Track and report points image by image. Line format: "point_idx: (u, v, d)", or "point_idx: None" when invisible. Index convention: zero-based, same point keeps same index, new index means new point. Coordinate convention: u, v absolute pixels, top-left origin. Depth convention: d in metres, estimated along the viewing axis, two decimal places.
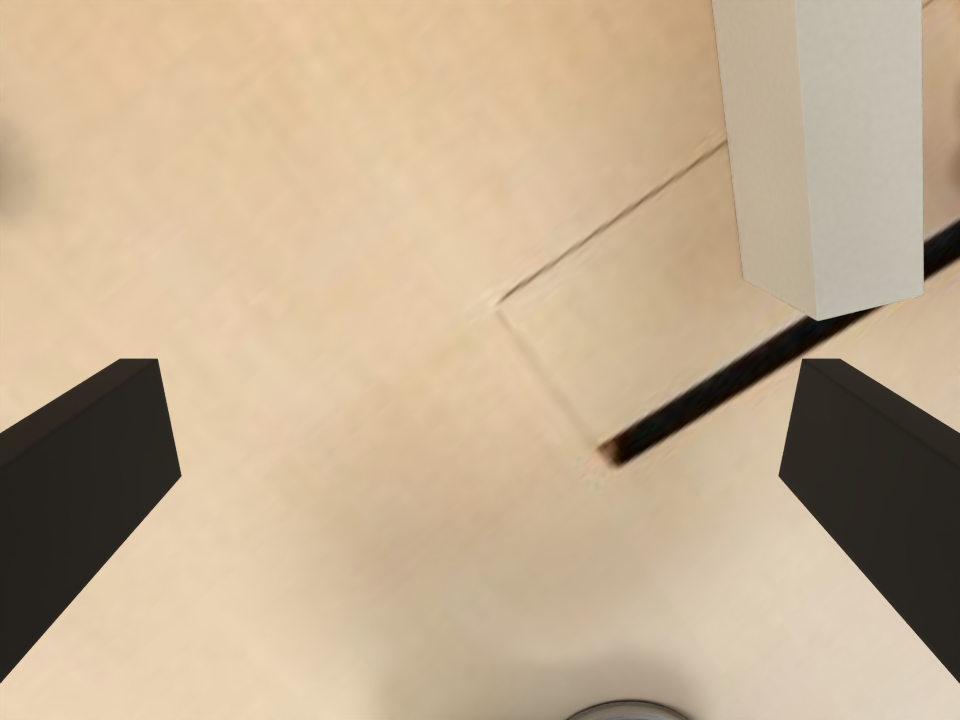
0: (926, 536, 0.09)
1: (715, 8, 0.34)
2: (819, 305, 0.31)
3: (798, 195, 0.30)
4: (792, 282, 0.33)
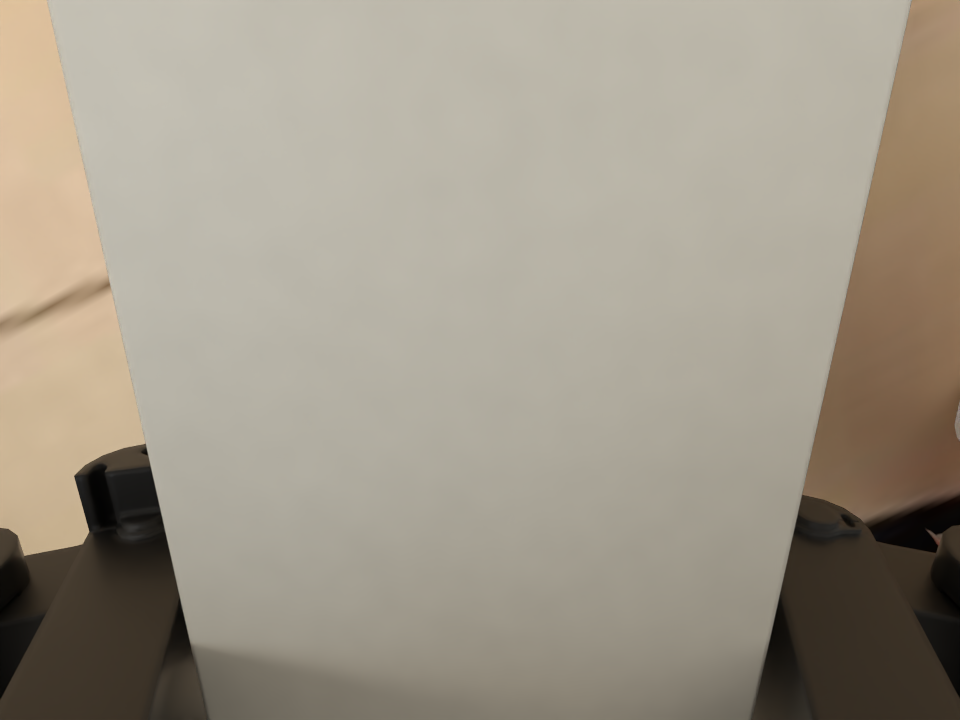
0: None
1: None
2: None
3: None
4: None
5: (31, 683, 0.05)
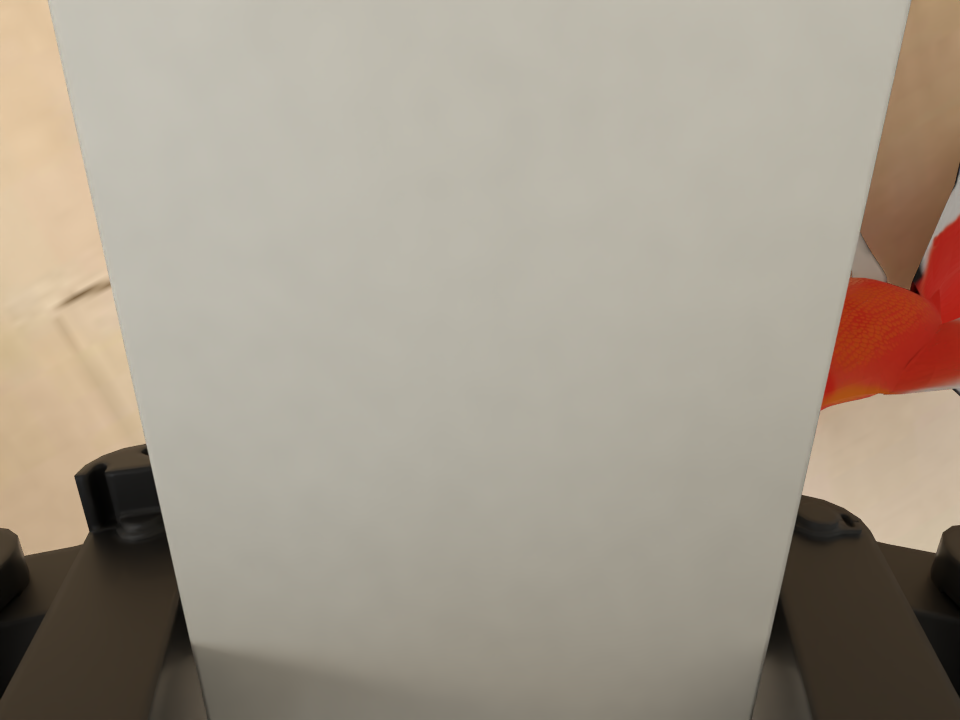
0: None
1: None
2: None
3: None
4: None
5: (31, 683, 0.05)
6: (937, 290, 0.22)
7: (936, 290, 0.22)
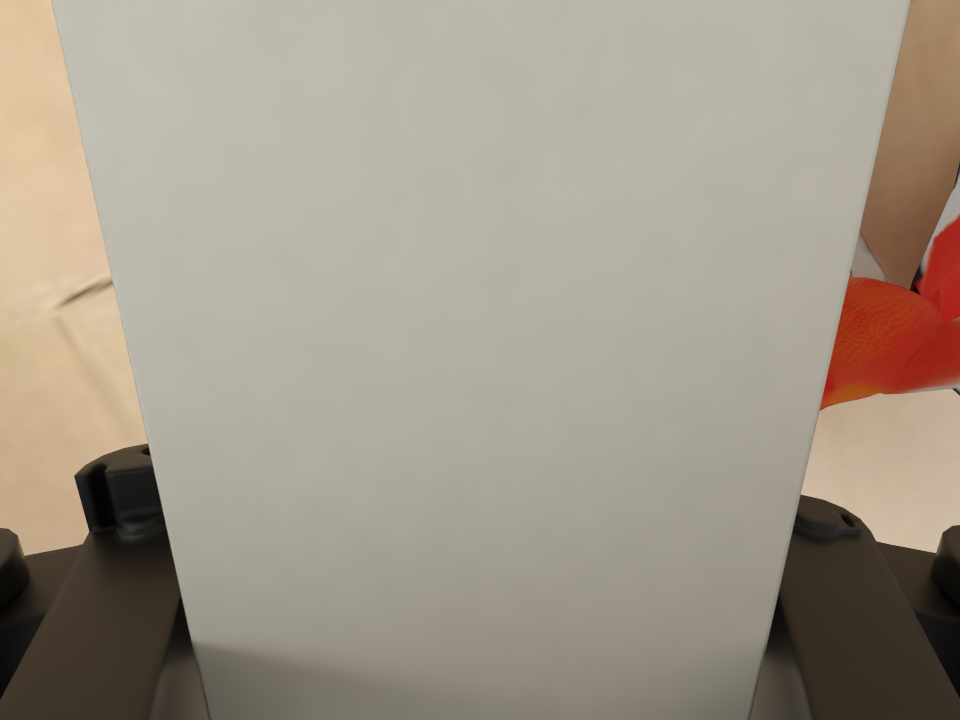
0: None
1: None
2: None
3: None
4: None
5: (31, 683, 0.05)
6: (937, 290, 0.22)
7: (936, 290, 0.22)
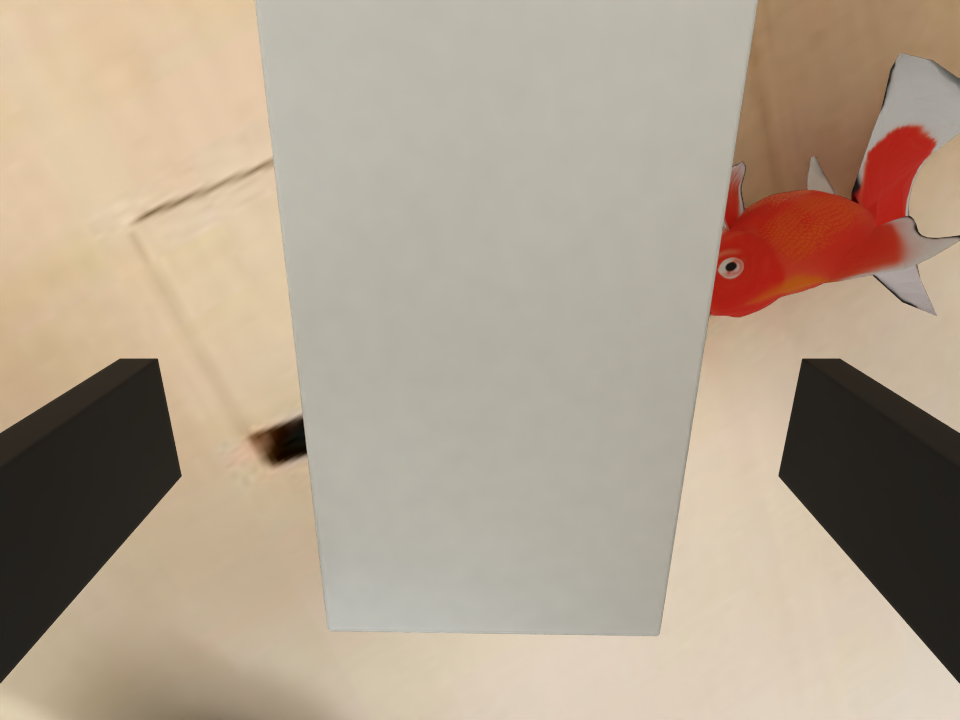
0: (926, 536, 0.09)
1: None
2: (333, 591, 0.09)
3: None
4: None
5: None
6: (875, 201, 0.26)
7: (874, 201, 0.26)
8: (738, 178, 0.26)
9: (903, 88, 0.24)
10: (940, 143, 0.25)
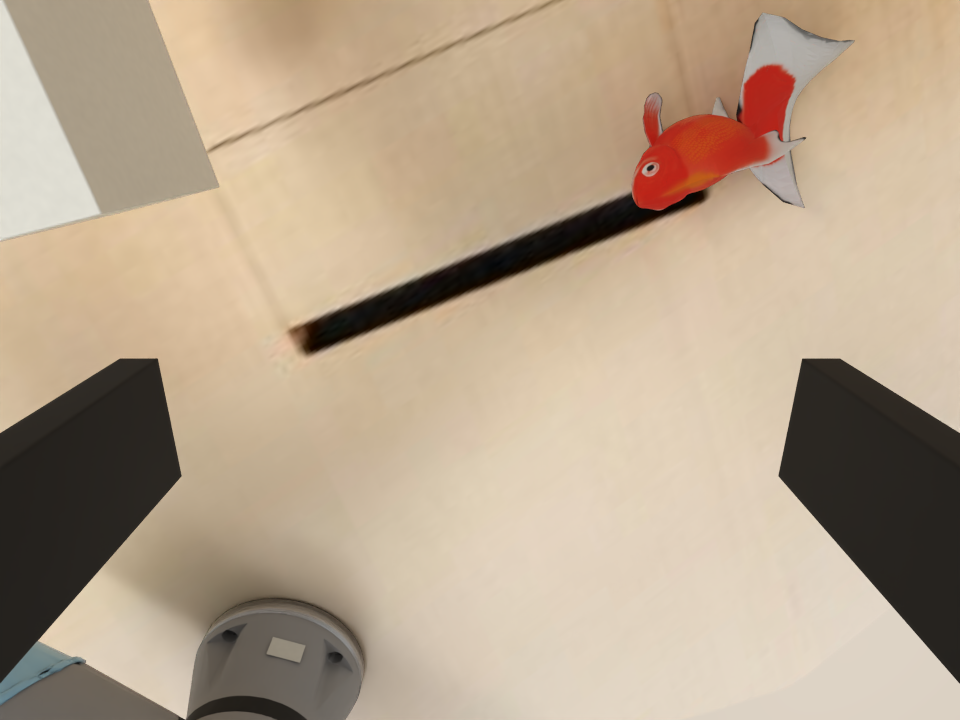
0: (926, 537, 0.09)
1: None
2: None
3: None
4: None
5: None
6: (755, 123, 0.36)
7: (754, 123, 0.36)
8: (657, 108, 0.36)
9: (765, 37, 0.34)
10: (799, 79, 0.35)
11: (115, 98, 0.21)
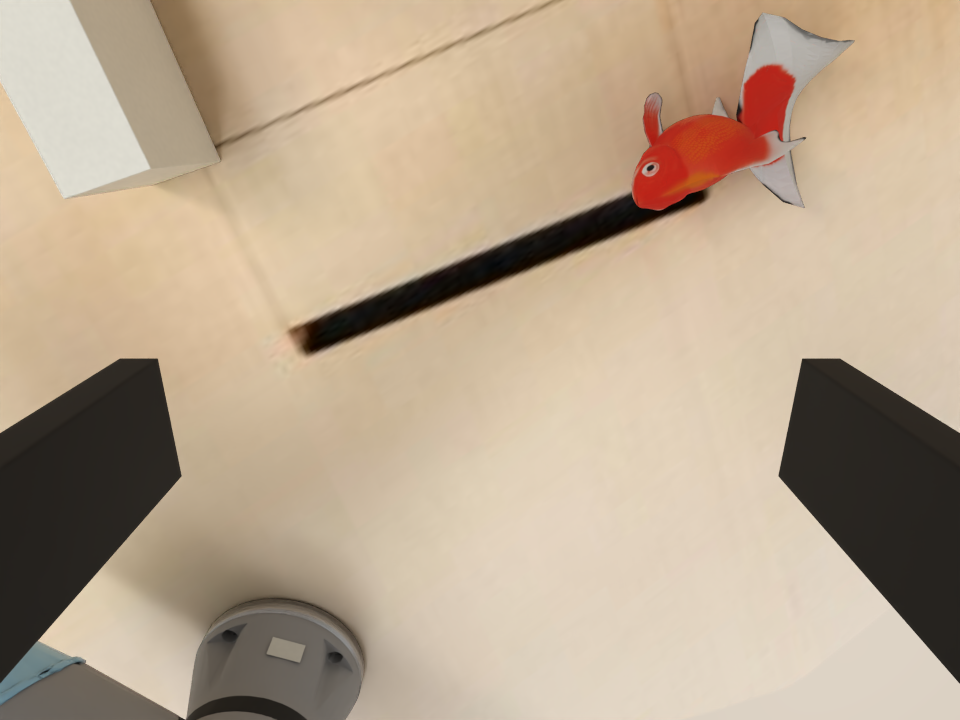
0: (926, 537, 0.09)
1: None
2: (58, 183, 0.33)
3: None
4: None
5: None
6: (755, 123, 0.36)
7: (754, 123, 0.36)
8: (657, 108, 0.36)
9: (765, 37, 0.34)
10: (799, 79, 0.35)
11: (153, 102, 0.34)
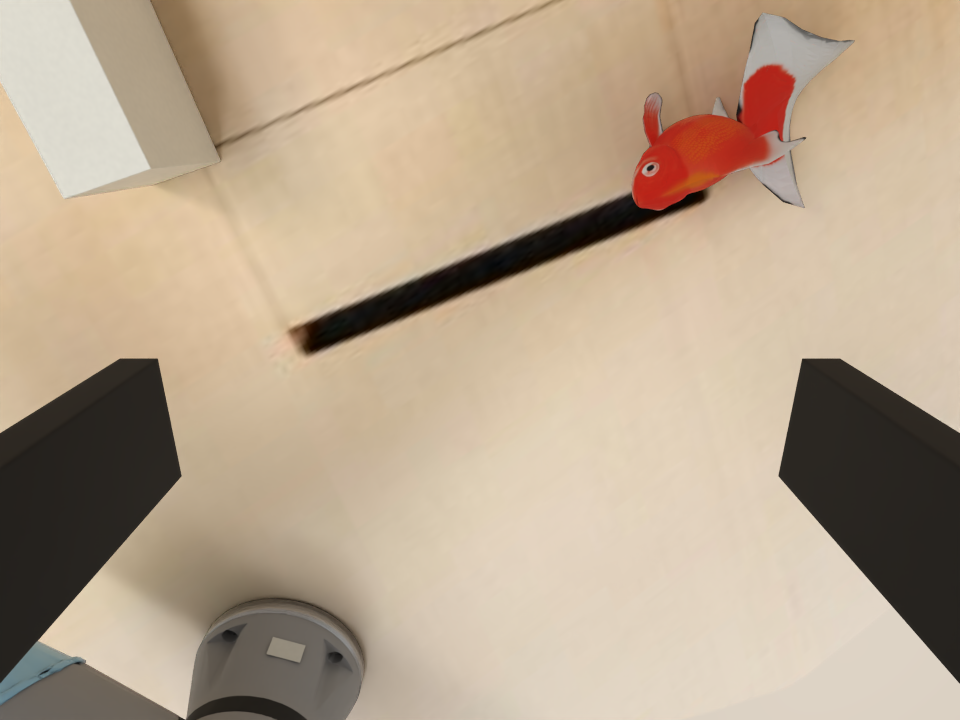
0: (926, 537, 0.09)
1: None
2: (57, 183, 0.33)
3: None
4: None
5: None
6: (755, 123, 0.36)
7: (754, 123, 0.36)
8: (657, 108, 0.36)
9: (765, 37, 0.34)
10: (799, 79, 0.35)
11: (153, 102, 0.34)
